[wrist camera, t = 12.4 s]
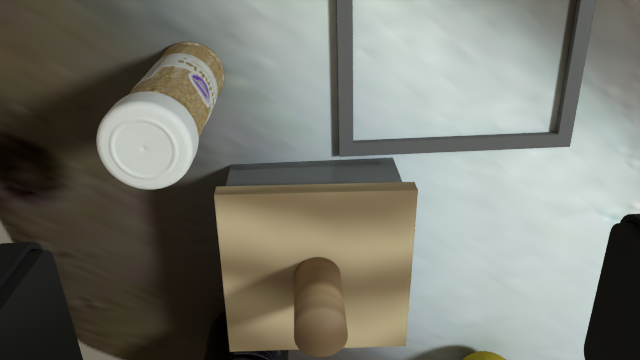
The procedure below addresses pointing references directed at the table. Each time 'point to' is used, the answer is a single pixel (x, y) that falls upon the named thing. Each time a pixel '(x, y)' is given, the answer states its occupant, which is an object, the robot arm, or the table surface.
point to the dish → (315, 172)
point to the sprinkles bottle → (162, 118)
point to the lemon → (483, 356)
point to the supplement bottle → (219, 352)
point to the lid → (316, 265)
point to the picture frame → (460, 143)
